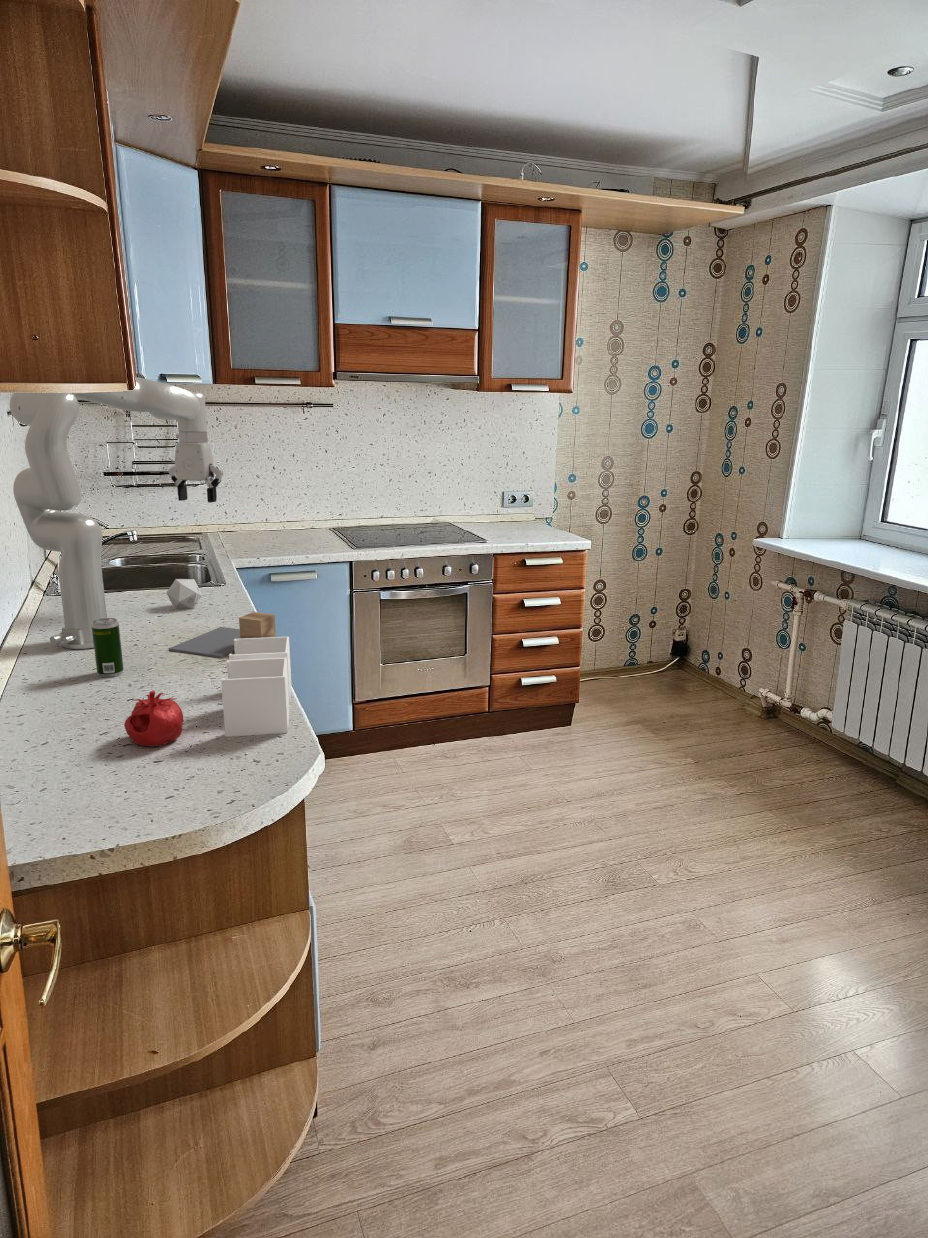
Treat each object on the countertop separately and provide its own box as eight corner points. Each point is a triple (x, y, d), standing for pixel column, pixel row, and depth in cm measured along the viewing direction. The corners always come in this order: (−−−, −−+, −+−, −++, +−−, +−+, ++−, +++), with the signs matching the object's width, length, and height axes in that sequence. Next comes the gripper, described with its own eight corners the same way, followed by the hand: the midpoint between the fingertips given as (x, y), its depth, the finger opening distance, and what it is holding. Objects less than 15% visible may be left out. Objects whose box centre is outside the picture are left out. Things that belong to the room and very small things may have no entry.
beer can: (125, 675, 175) (119, 622, 172) (98, 679, 172) (92, 625, 169) (122, 668, 179) (116, 616, 176) (96, 671, 177) (90, 619, 174)
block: (262, 652, 191) (260, 620, 189) (241, 650, 193) (238, 617, 191) (276, 645, 196) (274, 614, 194) (255, 643, 198) (253, 611, 196)
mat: (221, 657, 187) (220, 655, 187) (168, 650, 192) (168, 648, 192) (269, 634, 205) (269, 633, 205) (220, 628, 210) (220, 626, 210)
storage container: (287, 733, 146) (284, 676, 143) (225, 737, 144) (221, 680, 142) (291, 686, 170) (288, 636, 167) (237, 689, 168) (234, 638, 165)
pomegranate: (175, 723, 150) (171, 676, 147) (193, 742, 142) (189, 692, 140) (119, 736, 144) (114, 687, 142) (135, 756, 136) (129, 705, 134)
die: (182, 615, 224) (202, 585, 225) (156, 598, 224) (176, 568, 225) (192, 618, 233) (211, 589, 234) (166, 602, 233) (186, 573, 234)
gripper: (157, 437, 219) (163, 500, 224) (211, 439, 214) (215, 504, 218) (175, 437, 226) (180, 498, 231) (228, 438, 221) (231, 501, 225)
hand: (197, 501), depth 225 cm, fingers open, 9 cm apart
